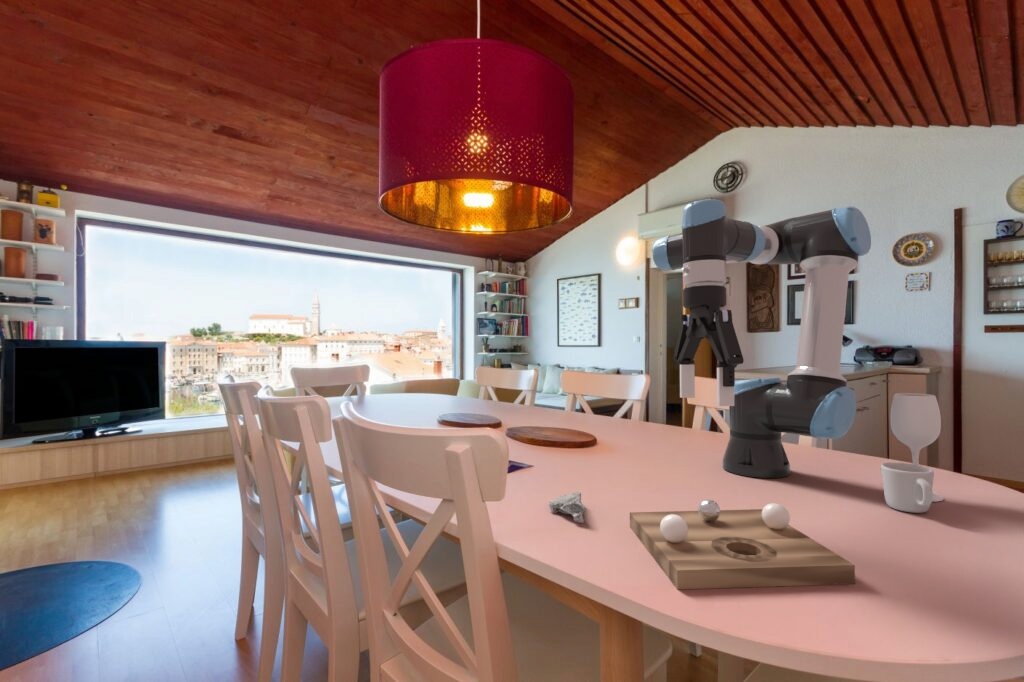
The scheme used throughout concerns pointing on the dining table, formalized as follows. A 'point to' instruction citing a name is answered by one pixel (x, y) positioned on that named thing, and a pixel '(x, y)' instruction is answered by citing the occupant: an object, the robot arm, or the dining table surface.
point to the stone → (569, 506)
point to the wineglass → (916, 423)
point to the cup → (907, 486)
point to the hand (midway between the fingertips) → (705, 401)
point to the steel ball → (709, 510)
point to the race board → (739, 552)
